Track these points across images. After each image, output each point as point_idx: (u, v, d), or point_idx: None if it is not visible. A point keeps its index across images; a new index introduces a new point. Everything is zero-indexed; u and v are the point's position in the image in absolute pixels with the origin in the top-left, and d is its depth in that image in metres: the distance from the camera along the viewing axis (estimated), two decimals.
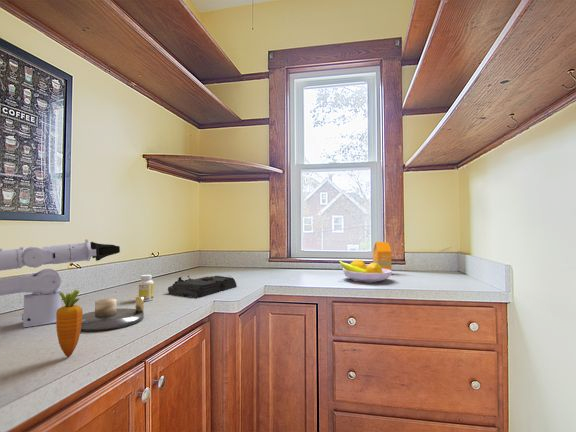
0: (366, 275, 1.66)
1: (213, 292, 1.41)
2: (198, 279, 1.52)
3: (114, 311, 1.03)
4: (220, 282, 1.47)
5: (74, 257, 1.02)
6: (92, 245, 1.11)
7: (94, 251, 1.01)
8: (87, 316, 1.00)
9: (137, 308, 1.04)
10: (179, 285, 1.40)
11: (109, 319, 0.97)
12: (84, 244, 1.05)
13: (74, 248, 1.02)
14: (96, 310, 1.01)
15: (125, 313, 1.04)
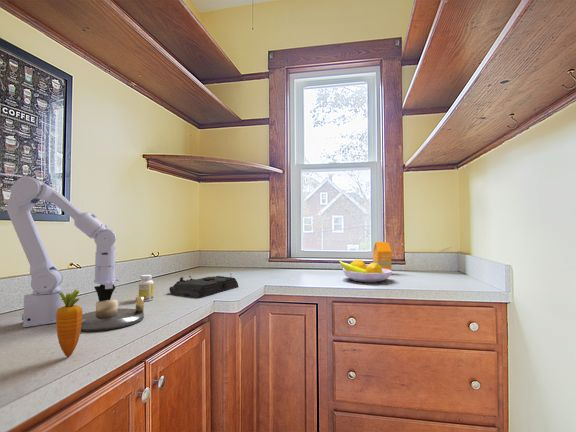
0: (366, 275, 1.66)
1: (215, 292, 1.41)
2: (200, 279, 1.51)
3: (115, 312, 1.02)
4: (222, 282, 1.46)
5: (102, 270, 1.04)
6: None
7: (110, 287, 1.01)
8: (87, 316, 1.00)
9: (137, 308, 1.04)
10: (181, 285, 1.40)
11: (109, 319, 0.97)
12: (114, 278, 1.07)
13: (112, 269, 1.06)
14: (97, 311, 1.00)
15: (125, 313, 1.04)
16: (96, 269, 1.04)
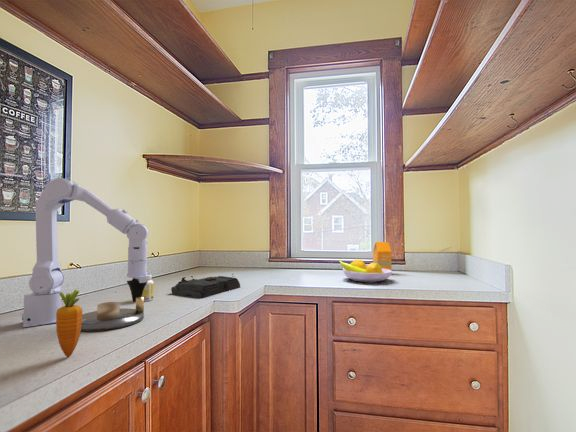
0: (366, 275, 1.66)
1: (216, 292, 1.40)
2: (202, 279, 1.51)
3: (117, 315, 0.99)
4: (223, 282, 1.46)
5: (135, 264, 1.04)
6: None
7: (144, 281, 1.02)
8: (87, 316, 1.00)
9: (137, 309, 1.04)
10: (182, 285, 1.39)
11: None
12: (146, 272, 1.08)
13: (144, 263, 1.07)
14: (98, 314, 0.97)
15: (125, 313, 1.04)
16: (129, 263, 1.05)
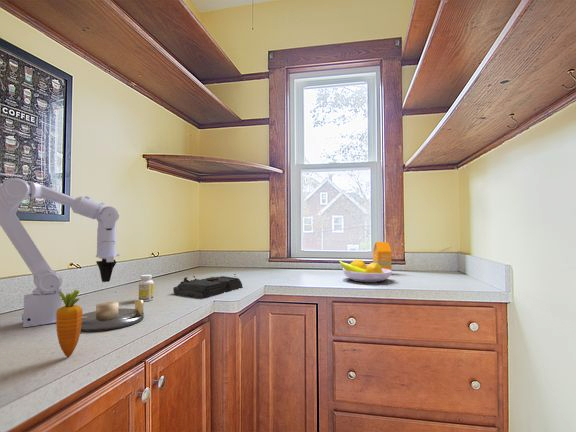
0: (366, 275, 1.66)
1: (218, 293, 1.40)
2: (204, 279, 1.51)
3: (111, 316, 0.98)
4: (226, 283, 1.45)
5: (103, 244, 1.08)
6: None
7: (111, 260, 1.05)
8: None
9: (135, 312, 1.00)
10: (184, 285, 1.39)
11: (102, 320, 0.97)
12: (115, 253, 1.11)
13: (113, 244, 1.10)
14: (96, 313, 0.98)
15: (126, 315, 1.02)
16: (98, 244, 1.08)
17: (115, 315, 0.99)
